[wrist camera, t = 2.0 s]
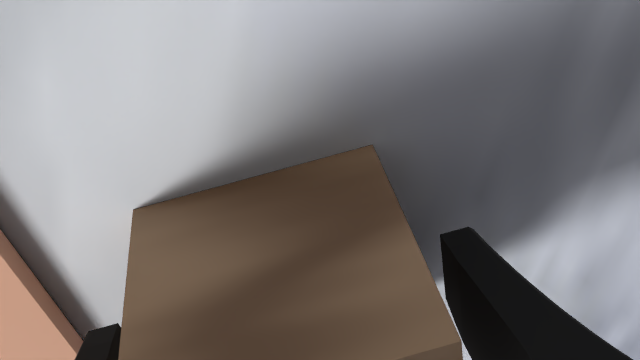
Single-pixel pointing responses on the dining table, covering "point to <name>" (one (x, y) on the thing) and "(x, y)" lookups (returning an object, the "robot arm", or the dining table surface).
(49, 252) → the dining table surface
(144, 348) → the walnut cube
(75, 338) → the terracotta tile
